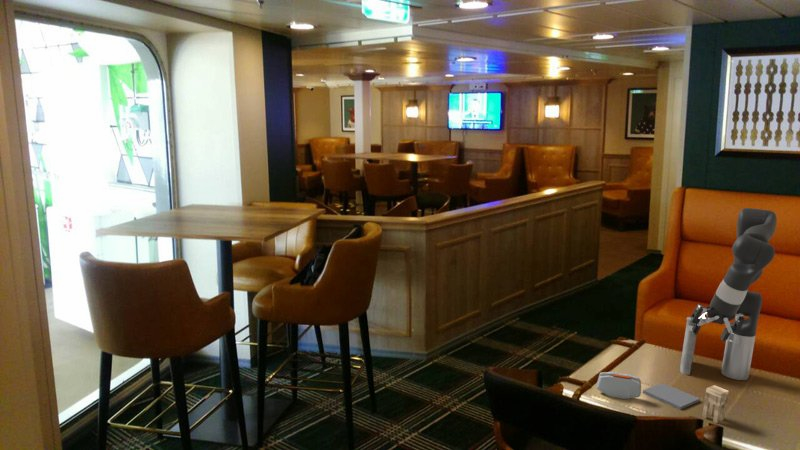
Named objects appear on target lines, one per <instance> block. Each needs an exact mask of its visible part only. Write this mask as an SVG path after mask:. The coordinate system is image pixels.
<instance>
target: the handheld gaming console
mask: <svg viewBox="0 0 800 450" xmlns="http://www.w3.org/2000/svg"><path fill="white" fill-rule="evenodd" d="M597 378H598V379H597V382H596V390H598V391H599V392H601V393H603V394H605V395H606V396H609V397H612V398H620V399H623V400H624V399H626V400H627V399H629V400H630V399H632V398H633V399H634V398H640V397H641V395H642V382H641V378H640V377H639V376H638V377H637V376H634V375H632V374H628V373H620V372H615V371H608V372H607V371H605V372H599V375H598V377H597Z"/></svg>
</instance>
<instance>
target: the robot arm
mask: <svg viewBox="0 0 800 450" xmlns="http://www.w3.org/2000/svg"><path fill="white" fill-rule="evenodd" d="M737 216H738V217H737V224H736V240H734V242H733V244H732V247H731V251H732V255H733V256H734V257H733V263H732V264H731V265H730V266H729V267H728V270H727V272H726V273H725V276H724V278H723V279H722V281H720V283H719V286H718V287H717V289H716V291H715V292H714V295H713V297H712V299H711V301H710V304H709V305H708V306H703V305H702V304H701V303H698V304H697V305H696V307H695V308H694V310H693V311H692V313H691V315H690V317H691V320H692V323H695V324H694V326H693V327H692V331H693V333H694V335H696V336H697V335H698V334H699V331H700V330H701V328H702V326H703V325H705V324H706V325H707V324H709V323H712V324H718V325H725V327H724V329H723V331H722V333H721V335H720V339H721V341H722V342H725V346H724V352H723V356H722V357H723V358H722V364H721V372H720V373H721V374H722V375H723V376H725V377H726V378H729V379H732V380H737V381H746V380H748V379H749V375H750V371H751V365H752V364H751V363H752V359H753V352H754V347H755V341H756V335H757V327H758V322H759V318H760V313H761V311H762V310H761V309H762V305H763V304H762V303H763V297H762V294H761V293H760V292H757V291H756V292H755V291H750V290H749V288H750V286H751V285H752V284H755V282H757V281H758V280H759V279H760V277H762V274H763V272H764V269H765V268H766V267H767V266H768V265H769V264H770V263H771V262H772V261H773V259H774V258H775V254H776V250H775V247H774V246H773V245H772V244H770V243H769V241H770V240H771V238H772V237H774V234H775V232H776V228H777V214H776V213H775V212H774V211H773V210H770V209H769V210H768V209H762V208H761V209H760V208H753V207H752V208H751V207H749V208H748V207H744V208H742V209H741V210H740V211H739V213H738V215H737ZM745 317H747V318H745ZM734 319H735V320H734ZM733 320H734V321H733ZM730 321H731V322H730Z"/></svg>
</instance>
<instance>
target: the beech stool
mask: <svg viewBox="0 0 800 450" xmlns="http://www.w3.org/2000/svg"><path fill="white" fill-rule="evenodd" d="M729 392H730V390H727V389H724V388H722V387H720V386H717V385H715V384H714V385H711V386H708V387H706V389H705V395H704V401H703V410H702V413H701V415H702V416H701V417H702V418H703V419H708V418H709V417H708V416H710V417H711V416H712V417H713V420H712V422H713V423H715V424H718V423H719V421H724V420H725V418H726V417H725V416H726V411H727V410H726V409H727V403H728V398H729Z"/></svg>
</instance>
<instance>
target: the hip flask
mask: <svg viewBox="0 0 800 450" xmlns="http://www.w3.org/2000/svg"><path fill="white" fill-rule="evenodd" d="M694 324H695V323H692V320H691V316H687V317H686V325H685V330H684V331H685V332H684V339H683V345H682V352H681V360H680V364H679V365H680V367H679V371H680V374H682V375H684V376H689V375H691V370H692V364H693V361H694V355H695V354H694V353H695V349H696V341H697V335H694V333H693V331H692V327H693V326H694Z"/></svg>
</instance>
